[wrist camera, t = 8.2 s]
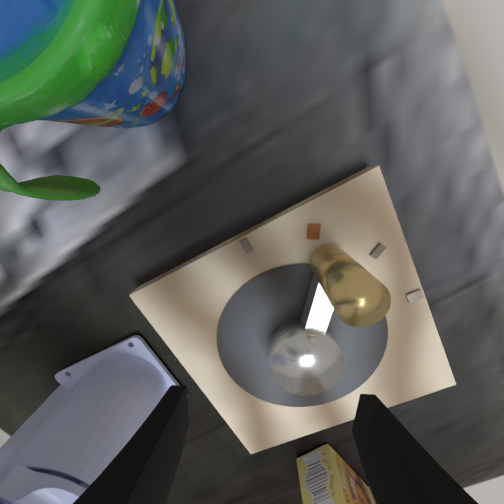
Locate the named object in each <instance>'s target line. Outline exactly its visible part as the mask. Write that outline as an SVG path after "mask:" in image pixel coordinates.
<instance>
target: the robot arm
mask: <svg viewBox="0 0 504 504" xmlns="http://www.w3.org/2000/svg"><path fill="white" fill-rule="evenodd" d="M130 342H131V343H133V344H131V343H130ZM55 379H56V380H57V381H58V382H59V383H60V384H61V385H60V386H59V387H58V388H57V389H56V390H55V391H54V392H53V393H52V394H51V395H50V396H49V397H48V398H47V400H46V401H45V402H44V403H43V404H42V405H41V406H40V407H39V408H38V409H37V410H36V411H35V412H34V413H33V414H32V415H31V416H30V417H29V418H28V420H27V421H26V422H25V423H24V424H23V425H22V426H21V427H20V428H19V429H18V430H17V431H16V432H15V433H14V434H13V435H12V436H11V437H10V438H9V440H8V441H7V442H6V443H5V444H4V445H3V446H2V447H1V448H0V504H166V502H167V498H168V495H169V492H170V489H171V486H172V483H173V480H174V477H175V473H176V470H177V467H178V464H179V461H180V457H181V454H182V451H183V446H184V442H185V438H186V433H187V428H188V424H189V416H188V401H187V397H188V395H187V387H186V386H180V385H179V383H178V382H177V381H176V380H175V378H174V377H173V376H172V375H171V373H170V372H169V371H168V370H167V368H166V367H165V366H164V365H163V363H162V362H161V361H160V360H159V358H158V357H157V356H156V355H155V353H154V352H153V351H152V350H151V348H150V347H149V346H148V345H147V343H146V342H145V341H144V340H143V338H142V337H141V336H139V335H134V336H132V337H130V338H128V339H126V340H123V341H121V342H119V343H117V344H115V345H113V346H111V347H109V348H107V349H105V350H103V351H101V352H99V353H96V354H94V355H92V356H90V357H88V358H86V359H84V360H82V361H80V362H78V363H76V364H74V365H72V366H69V367H67V368H65V369H63V370H61V371H59V372H58V373H57V374H56V375H55ZM352 431H353V435H354V438H355V442H356V446H357V449H358V453H359V456H360V460H361V463H362V466H363V468H364V471H365V474H366V476H367V479H368V482H369V484H370V487H371V489H372V492H373V495H374V497H375V500H376V503H377V504H478V503H477V502H476V501H475V500H474V499H473V498H472V497H471V496H470V495H469V494H468V493H466V492H465V490H464V489H463V488H462V487H461V486H460V485H459V484H458V483H457V482H456V481H455V480H454V479H453V478H452V477H451V476H450V475H449V474H448V473H447V472H446V471H445V470H444V469H443V468H442V467H441V466H440V465H439V464H438V463H437V462H436V461H435V460H434V459H433V458H432V457H431V456H430V455H429V453H428V452H427V451H426V450H425V449H424V448H423V447H422V446H421V445H420V444H419V443H418V442H417V441H416V439H415V438H414V437H413V436H412V435H411V434H410V433H409V432H408V431H407V430H406V428H405V427H404V426H403V425H402V424H401V423H400V422H399V421H398V419H397V418H396V417H395V416H394V415H393V414H392V413H391V412H390V410H389V409H388V408H387V407H386V406H385V405H384V404H383V403H382V401H381V400H380V399H379V398H378V397H377V396H376V395H375V394H360V397H359V402H358V406H357V410H356V415H355V419H354V424H353V428H352Z"/></svg>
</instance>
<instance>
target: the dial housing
mask: <svg viewBox="0 0 504 504" xmlns="http://www.w3.org/2000/svg"><path fill="white" fill-rule="evenodd" d="M324 244H335V245H337V246H339V247H340V248H342V249H343V250H344V251H345V252H346V253H347V254H349V255H350V256H351V257H352V258H353V259H354V260H356V261H357V262H358V263H359V264H360V265H361V266H363V267H364V268H365V269H366V270H367V271H368V272H370V273H371V274H372V275H373V276H374V277H375V278H376V279H378V280H379V281H380V282H381V283H382V284H383V285H385V286H386V287H387V289H388V290H389V292H390V295H391V306H390V309H389V311H388V313H387V314H386V315H385V317H384V318H383V319H382V320H380V321H379V322H377V323H376V324H374V325H371V326H368V327H352V326H349V325H347V324H345V323H344V322H342V321H341V320H340V318H339V317H338V315H337V313H336V312H335V310H334V309H333V312H332V315H331V318H330V321H329V324H328V327H329V328H330V330H331V331H332V333H333V335H334V337H335V339H336V342H337V344H338V346H339V348H340V350H341V352H342V354H343V357H344V361H345V367H344V372H343V374H342V376H341V378H340V380H339V381H338V382H337V383H336V384H335V385H334V386H333V387H331V388H330V389H328V390H326V391H324V392H322V393H319V394H314V395H297V394H293V393H290V392H287V391H285V390H284V389H282V388H281V387H279V386H278V385H277V384H276V382H275V381H274V380H273V378H272V375H271V372H270V361H269V338H270V336H271V334H272V332H273V330H274V329H275V328H276V327H277V326H278V325H279V324H280V323H282V322H284V321H286V320H288V319H290V318H294V317H300V316H302V313H303V309H304V306H305V302H306V299H307V295H308V292H309V288H310V285H311V281H312V278H313V275H314V273H313V272H312V270H311V268H310V263H309V261H310V257H311V254H312V253H313V251H314V250H315V249H316V248H318V247H319V246H321V245H324ZM129 296H130V297H131V299H132V300H133V301H134V303H135V304H136V305H137V306H138V308H139V309H140V310H141V312H142V313H143V314H144V316H145V317H146V318H147V320H148V321H149V322H150V323H151V325H152V326H153V327H154V329H155V330H156V331H157V333H158V334H159V335H160V336H161V338H162V339H163V340H164V342H165V343H166V344H167V346H168V347H169V348H170V349H171V351H172V352H173V353H174V355H175V356H176V357H177V359H178V360H179V361H180V363H181V364H182V365H183V366H184V368H185V369H186V370H187V372H188V373H189V374H190V376H191V377H192V378H193V379H194V381H195V382H196V383H197V385H198V386H199V387H200V389H201V390H202V391H203V392H204V394H205V395H206V396H207V398H208V399H209V400H210V402H211V403H212V404H213V406H214V407H215V408H216V409H217V411H218V412H219V413H220V415H221V416H222V417H223V419H224V420H225V421H226V422H227V424H228V425H229V426H230V428H231V429H232V430H233V432H234V433H235V434H236V436H237V437H238V438H239V439H240V441H241V442H242V443H243V445H244V446H245V447H246V449H247V450H248V451H249V452H250V454H253V453H256V452H259V451H262V450H265V449H268V448H271V447H274V446H277V445H279V444H282V443H285V442H288V441H291V440H294V439H297V438H300V437H303V436H306V435H309V434H312V433H315V432H318V431H321V430H324V429H327V428H330V427H332V426H335V425H338V424H341V423H344V422H347V421H350V420H353V419H355V415H356V410H357V406H358V402H359V397H360V394H375V395H376V396H377V397H378V398H379V399H380V400H381V401H382V403H383V404H384V405H385V406H386V407H387V408H388V407H391V406H394V405H397V404H400V403H403V402H406V401H409V400H412V399H415V398H418V397H421V396H424V395H427V394H430V393H433V392H435V391H438V390H441V389H444V388H447V387H450V386H453V385H456V383H455V380H454V377H453V374H452V371H451V368H450V366H449V363H448V360H447V357H446V354H445V351H444V349H443V346H442V343H441V340H440V337H439V334H438V332H437V329H436V326H435V323H434V320H433V317H432V314H431V312H430V309H429V306H428V303H427V300H426V297H425V295H424V292H423V289H422V286H421V283H420V280H419V278H418V275H417V272H416V269H415V266H414V263H413V261H412V258H411V255H410V252H409V249H408V246H407V244H406V241H405V238H404V235H403V232H402V229H401V227H400V224H399V221H398V218H397V215H396V212H395V210H394V207H393V204H392V201H391V198H390V195H389V193H388V190H387V187H386V184H385V181H384V178H383V175H382V173H381V170H380V167H379V166H369V167H366V168H364V169H362V170H360V171H358V172H357V173H355V174H353V175H351V176H349V177H347V178H345V179H343V180H341V181H339V182H337V183H336V184H334V185H332V186H330V187H328V188H326V189H324V190H322V191H320V192H318V193H316V194H314V195H313V196H311V197H309V198H307V199H305V200H303V201H301V202H299V203H297V204H295V205H293V206H292V207H290V208H288V209H286V210H284V211H282V212H280V213H278V214H276V215H274V216H272V217H270V218H269V219H267V220H265V221H263V222H261V223H259V224H257V225H255V226H253V227H251V228H249V229H248V230H246V231H244V232H242V233H240V234H238V235H236V236H234V237H232V238H230V239H228V240H226V241H225V242H223V243H221V244H219V245H217V246H215V247H213V248H211V249H209V250H207V251H205V252H204V253H202V254H200V255H198V256H196V257H194V258H192V259H190V260H188V261H186V262H184V263H182V264H181V265H179V266H177V267H175V268H173V269H171V270H169V271H167V272H165V273H163V274H161V275H160V276H158V277H156V278H154V279H152V280H150V281H148V282H146V283H144V284H142V285H140V286H139V287H138V288H136V289H135V290H134V291H133V292H132V293H131V294H130V295H129Z"/></svg>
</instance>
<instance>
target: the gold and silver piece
mask: <svg viewBox="0 0 504 504" xmlns="http://www.w3.org/2000/svg"><path fill="white" fill-rule="evenodd" d="M309 263H310V268H311V270H312V272H313V273H314V275H313V278H312V281H311V285H310V288H309V292H308V295H307V299H306V302H305V306H304V309H303V313H302V316H300V317H294V318H290V319H288V320H286V321H284V322H282V323H280V324H279V325H278V326H277V327H276V328H275V329H274V330H273V332H272V334H271V336H270V338H269V361H270V372H271V375H272V378H273V380H274V381H275V382H276V384H277V385H278V386H279V387H281V388H282V389H284V390H285V391H287V392H290V393H293V394H297V395H314V394H319V393H322V392H324V391H326V390H328V389H330V388H331V387H333V386H334V385H335V384H336V383H337V382H338V381H339V380H340V378H341V376H342V374H343V372H344V367H345V361H344V357H343V354H342V352H341V350H340V348H339V346H338V344H337V342H336V339H335V337H334V335H333V333H332V331H331V330H330V328H329V327H328V324H329V321H330V318H331V315H332V312H333V309H334V310H335V312H336V313H337V315H338V317H339V318H340V320H341V321H342V322H344V323H345V324H347V325H349V326H352V327H368V326H371V325H374V324H376V323H377V322H379V321H380V320H382V319H383V318H384V317H385V315H386V314H387V313H388V311H389V309H390V306H391V295H390V292H389V290H388V289H387V287H386V286H385V285H383V284H382V283H381V282H380V281H379V280H378V279H376V278H375V277H374V276H373V275H372V274H371V273H370V272H368V271H367V270H366V269H365V268H364V267H363V266H361V265H360V264H359V263H358V262H357V261H356V260H354V259H353V258H352V257H351V256H350V255H349V254H347V253H346V252H345V251H344V250H343V249H342V248H340V247H339V246H337V245H335V244H324V245H321V246H319V247H318V248H316V249H315V250H314V251H313V253H312V254H311V257H310V261H309Z"/></svg>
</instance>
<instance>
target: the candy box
mask: <svg viewBox="0 0 504 504" xmlns="http://www.w3.org/2000/svg"><path fill="white" fill-rule="evenodd" d="M296 461H297V467H298V474H299V481H300V487H301V494H302V501H303V504H375V502H374V499H373V496H372V494H371V491H370V488H369V487H368V486H367V485H366V484H365V483H364V481H363V480H362V479H361V478H360V477H359V476H358V475H357V474H356V473H355V472H354V471H353V470H352V469H351V467H350V466H349V465H348V464H347V463H346V462H345V461H344V460H343V459H342V458H341V457H340V456H339V455H338V454H337V453H336V452H335V450H334V449H333V448H332V447H331V446H330V445H329V444H325V445H323V446H321V447H319V448H317V449H315V450H313V451H311V452H309V453H307V454H305V455H303V456H301V457H298V458H297V460H296Z"/></svg>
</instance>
